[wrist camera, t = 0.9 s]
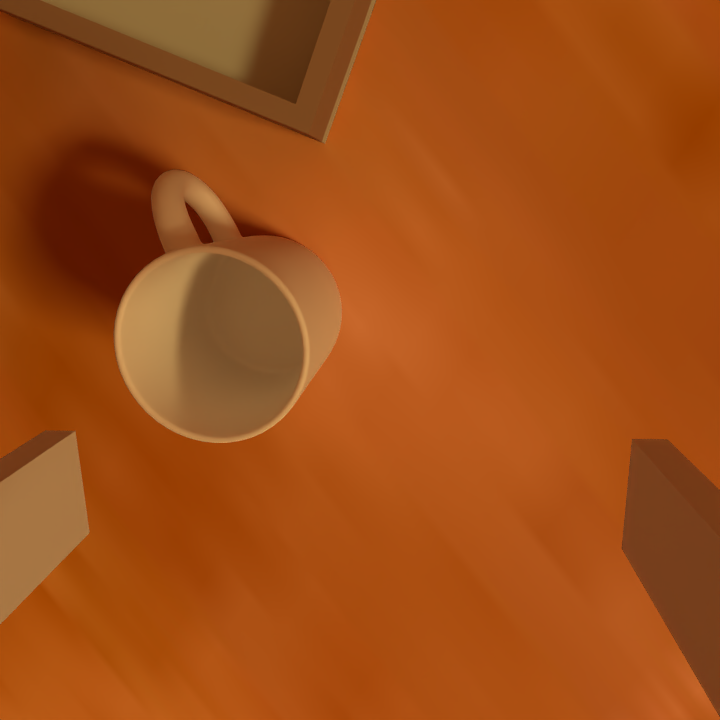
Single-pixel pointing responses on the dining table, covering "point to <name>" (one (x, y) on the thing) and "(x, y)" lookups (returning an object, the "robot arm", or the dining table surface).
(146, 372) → the mug
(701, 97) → the dining table surface
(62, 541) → the robot arm
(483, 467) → the dining table surface
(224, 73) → the shallow square tray
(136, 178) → the dining table surface
